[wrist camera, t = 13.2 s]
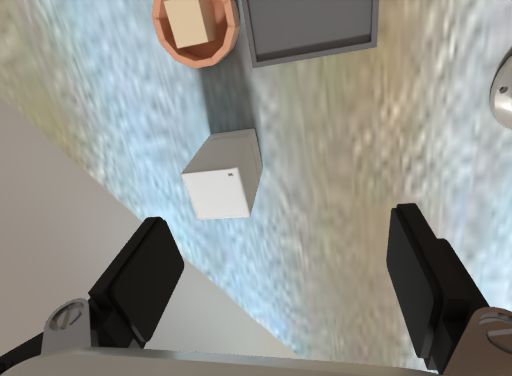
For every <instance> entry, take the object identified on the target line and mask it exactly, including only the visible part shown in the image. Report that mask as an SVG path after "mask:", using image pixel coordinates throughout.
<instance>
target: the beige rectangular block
mask: <svg viewBox="0 0 512 376" xmlns="http://www.w3.org/2000/svg"><path fill="white" fill-rule="evenodd" d="M164 5H165V8H166V12H167V15H168V18H169V22H170V25H171V29H172V32H173V35H174V39H175V42H176V46H177V48H182V47H186V46H191V45H196V44H201V43H206V42H210V41H214V40H217V39H220V38H219V33H218V29H217V24H216V19H215V15H214V10H213V6H212V1H211V0H168V1H164Z"/></svg>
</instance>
